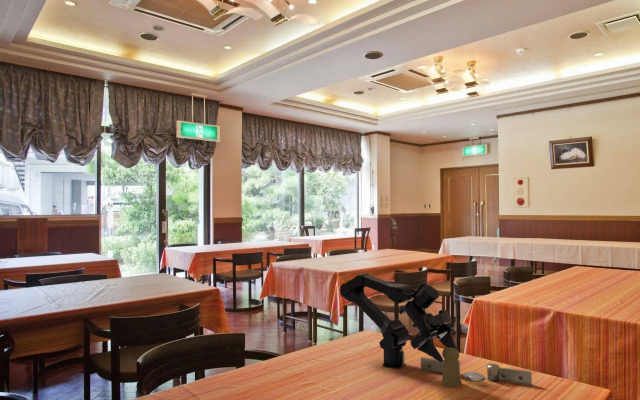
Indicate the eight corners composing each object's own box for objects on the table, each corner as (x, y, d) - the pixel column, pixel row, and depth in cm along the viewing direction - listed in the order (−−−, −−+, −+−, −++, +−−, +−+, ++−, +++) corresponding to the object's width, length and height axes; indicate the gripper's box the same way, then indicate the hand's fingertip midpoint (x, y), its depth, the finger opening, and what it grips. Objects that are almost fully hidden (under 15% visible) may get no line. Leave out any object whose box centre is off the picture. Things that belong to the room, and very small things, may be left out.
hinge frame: (419, 373, 140) (419, 359, 140) (423, 366, 146) (422, 353, 146) (532, 389, 126) (531, 374, 126) (531, 380, 132) (530, 366, 132)
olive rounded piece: (462, 388, 127) (461, 352, 128) (442, 386, 129) (441, 351, 129) (460, 380, 133) (459, 345, 134) (440, 379, 135) (440, 344, 135)
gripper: (417, 307, 130) (450, 350, 121) (448, 297, 142) (480, 336, 134) (397, 327, 135) (427, 370, 127) (429, 317, 148) (458, 355, 139)
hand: (450, 357), depth 131 cm, fingers open, 9 cm apart
